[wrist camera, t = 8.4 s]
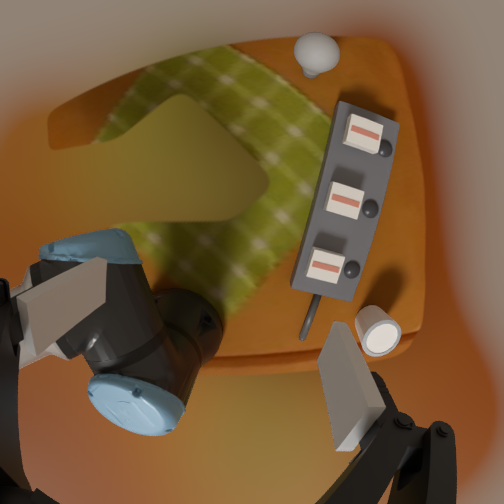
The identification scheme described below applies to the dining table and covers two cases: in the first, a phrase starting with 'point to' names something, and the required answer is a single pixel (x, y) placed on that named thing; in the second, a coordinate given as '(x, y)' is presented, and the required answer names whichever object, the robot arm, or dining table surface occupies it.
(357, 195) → the middle switch
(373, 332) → the white cup
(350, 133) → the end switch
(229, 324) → the dining table surface
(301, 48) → the lightbulb
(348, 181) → the power strip
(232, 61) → the dining table surface
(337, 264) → the cord end switch
